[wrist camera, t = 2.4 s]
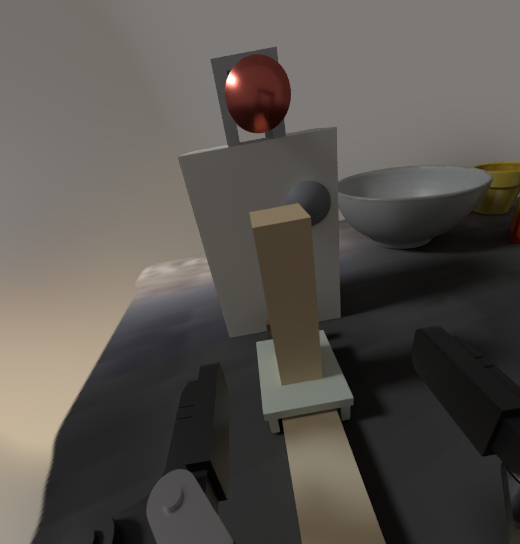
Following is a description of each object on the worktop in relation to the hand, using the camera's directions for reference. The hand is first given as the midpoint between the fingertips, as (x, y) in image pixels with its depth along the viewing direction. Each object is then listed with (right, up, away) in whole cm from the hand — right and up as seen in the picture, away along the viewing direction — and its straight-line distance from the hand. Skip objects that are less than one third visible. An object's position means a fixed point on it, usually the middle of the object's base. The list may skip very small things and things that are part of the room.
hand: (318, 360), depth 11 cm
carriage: (+2, -9, +18) cm, 20 cm away
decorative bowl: (+28, +11, +46) cm, 55 cm away
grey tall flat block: (+1, -3, +30) cm, 30 cm away
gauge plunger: (-3, +16, +13) cm, 21 cm away
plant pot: (+51, +18, +51) cm, 74 cm away
